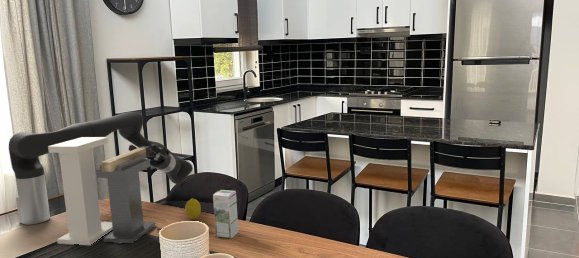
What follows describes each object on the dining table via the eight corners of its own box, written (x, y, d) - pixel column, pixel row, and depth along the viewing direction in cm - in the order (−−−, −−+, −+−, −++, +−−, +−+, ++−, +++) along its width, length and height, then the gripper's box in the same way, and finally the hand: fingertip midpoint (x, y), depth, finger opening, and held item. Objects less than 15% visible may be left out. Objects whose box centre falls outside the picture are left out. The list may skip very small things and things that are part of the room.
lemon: (203, 216, 159) (201, 195, 158) (198, 222, 154) (197, 200, 152) (188, 216, 160) (187, 196, 158) (183, 222, 154) (182, 200, 153)
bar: (102, 171, 133) (101, 162, 132) (143, 154, 156) (142, 146, 156) (110, 171, 132) (109, 162, 132) (150, 154, 155) (149, 146, 155)
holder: (103, 242, 139) (95, 165, 135) (129, 225, 154) (122, 154, 150) (132, 244, 137) (124, 165, 133) (155, 226, 152) (149, 155, 148)
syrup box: (239, 232, 143) (236, 190, 141) (231, 239, 138) (228, 195, 136) (223, 230, 145) (221, 188, 143) (215, 237, 140) (212, 194, 138)
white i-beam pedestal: (57, 243, 140) (45, 146, 135) (89, 225, 155) (79, 137, 150) (90, 245, 137) (79, 146, 132) (119, 226, 153) (110, 137, 148)
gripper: (147, 151, 169) (124, 137, 155) (180, 151, 167) (161, 137, 152) (143, 169, 167) (120, 157, 152) (177, 170, 164) (157, 157, 149)
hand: (141, 147), depth 152 cm, fingers open, 8 cm apart
